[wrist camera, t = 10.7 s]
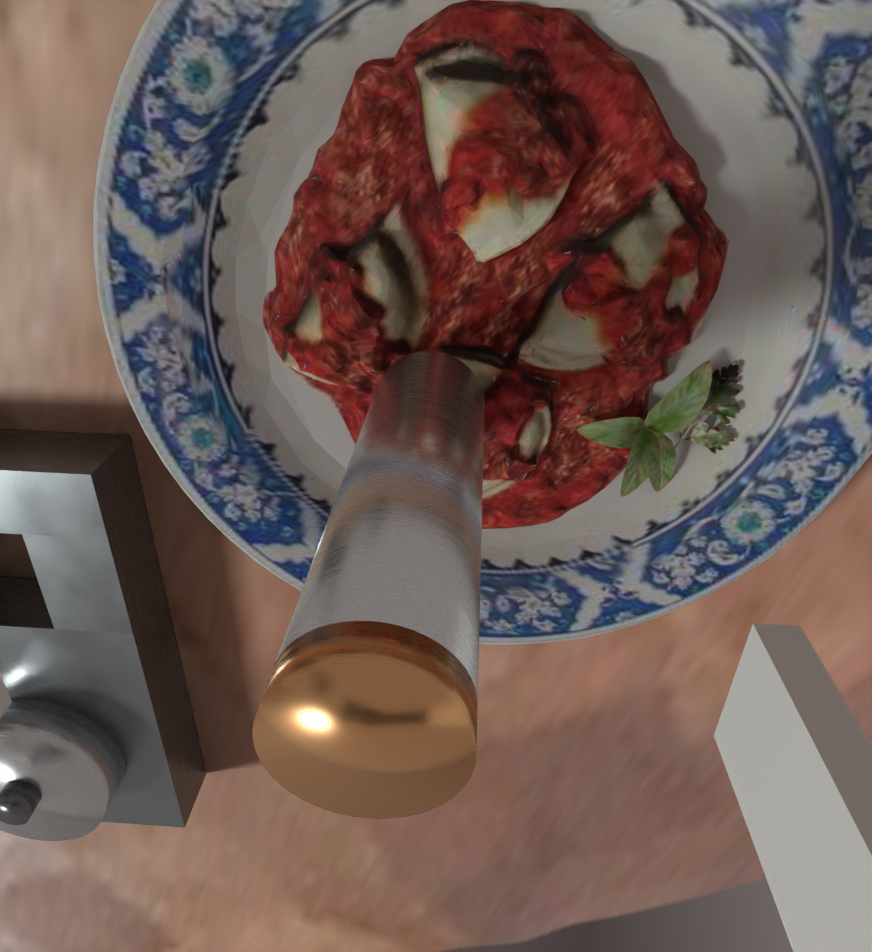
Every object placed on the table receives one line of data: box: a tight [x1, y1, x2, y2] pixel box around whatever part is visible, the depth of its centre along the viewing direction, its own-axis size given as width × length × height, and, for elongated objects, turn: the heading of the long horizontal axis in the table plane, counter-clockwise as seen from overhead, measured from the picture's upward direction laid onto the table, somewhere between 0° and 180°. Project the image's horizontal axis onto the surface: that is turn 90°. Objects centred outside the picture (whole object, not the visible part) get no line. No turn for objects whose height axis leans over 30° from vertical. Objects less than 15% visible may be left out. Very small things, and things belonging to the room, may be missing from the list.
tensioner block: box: [0, 429, 206, 841], centre depth 29 cm, size 20×11×6 cm, turn 179°
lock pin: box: [252, 351, 485, 819], centre depth 16 cm, size 4×4×13 cm
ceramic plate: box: [93, 0, 872, 645], centre depth 22 cm, size 26×26×3 cm
